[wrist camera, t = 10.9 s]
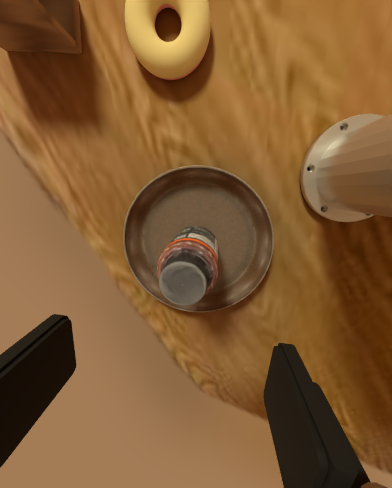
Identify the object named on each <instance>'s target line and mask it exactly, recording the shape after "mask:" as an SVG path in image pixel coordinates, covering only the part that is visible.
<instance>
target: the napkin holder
mask: <svg viewBox="0 0 392 488" xmlns="http://www.w3.org/2000/svg"><path fill="white" fill-rule="evenodd" d="M0 47H1V48H3V49H4V50H6V51H20V52H47V53H73V54H82V43H81V27H80V12H79V1H78V0H0Z"/></svg>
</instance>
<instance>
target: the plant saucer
mask: <svg viewBox="0 0 392 488" xmlns="http://www.w3.org/2000/svg"><path fill="white" fill-rule="evenodd" d="M195 225H197V226H202V227H205V228H207V229H209V230H210V231H211V232H212V233H213V234H214V235H215V237H216V239H217V243H218V247H219V251H220V252H219V273H218V278H217V281H216V283H215V285H214V287H213V288H212V289H211V290H210V291H209V292H208V293H207V294H205V295H204V296H203V297H202V299H201V300H199V301H198V302H197V303H195V304H192V305H188V306H181V305H177V304H174V303H172V302H170V301H169V300H168V299H166V298H165V297H164V295H163V294H162V292H161V290H160V287H159V277H158V273H157V264H158V260H159V257H160V255H161V253H162V252H163V250H164V249H165V248H166V247H167V246H168V244H169V243H170V242H171V241H172V240H173V239H174V238H175V236H176V235H177V234H178V233H179V232H180V231H181V230H183V229H184V228H186V227H189V226H195ZM123 245H124V252H125V256H126V259H127V262H128V265H129V267H130V269H131V271H132V273H133V275H134V277H135V278H136V279H137V281H138V282H139V283H140V285H141V286H142V287H143V288H144V289H145V290H146V291H147V292H148V293H149V294H151V295H152V296H153V297H154V298H156V299H157V300H159V301H160V302H162V303H164V304H166V305H168V306H171V307H173V308H176V309H179V310H183V311H189V312H212V311H217V310H221V309H224V308H227V307H229V306H232V305H234V304H236V303H238V302H239V301H241V300H243V299H244V298H245V297H247V296H248V295H249V294H250V293H251V292H252V291H253V290H254V289H255V288H256V287H257V286H258V285H259V283H260V282H261V281H262V279H263V278H264V276H265V274H266V272H267V270H268V268H269V265H270V262H271V259H272V254H273V248H274V233H273V227H272V222H271V218H270V215H269V213H268V211H267V208H266V206H265V205H264V203H263V201H262V200H261V198H260V197H259V196H258V194H257V193H256V192H255V191H254V190H253V189H252V188H251V187H250V186H249V185H248V184H247V183H246V182H244V181H243V180H242V179H240V178H239V177H237V176H235V175H233V174H232V173H229V172H227V171H225V170H222V169H219V168H215V167H210V166H200V165H193V166H184V167H179V168H175V169H172V170H169V171H167V172H165V173H163V174H161V175H159V176H157V177H156V178H154V179H153V180H151V181H150V182H149V183H148V184H147V185H146V186H145V187H143V188H142V190H141V191H140V192H139V193H138V194H137V196H136V197H135V199H134V200H133V202H132V204H131V206H130V208H129V210H128V213H127V215H126V219H125V223H124V229H123Z"/></svg>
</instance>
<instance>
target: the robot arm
mask: <svg viewBox="0 0 392 488" xmlns="http://www.w3.org/2000/svg"><path fill="white" fill-rule="evenodd" d="M340 127H341V129H340ZM307 167H309V171H307ZM300 184H301V191H302V193H303V196H304V199H305V200H306V202H307V204H308V205H309V207H310V208H311V209H312V210H313V211H314V212H316V213H317V214H319V215H320V216H322V217H324V218H327V219H329V220H333V221H337V222H356V221H360V220H364V219H367V218H370V217H372V216H374V215H379V216H386V217H392V114H390V115H388V116H383V115H377V114H360V115H356V116H352V117H349V118H347V119H344V120H342V121H340V122H338V123H336V124H334V125H333V126H331V127H330V128H328V129H327V130H326V131H324V132H323V133H322V134H321V135H320V136H319V137H318V138H317V139H316V140H315V141H314V142H313V144H312V146H311V147H310V149H309V150H308V152H307V154H306V156H305V158H304V161H303V164H302V168H301V175H300ZM321 207H322V209H321ZM75 368H76V358H75V350H74V341H73V333H72V324H71V321H70V320H69V318H68V317H67V316H64V315H56V314H54V315H52V316H50V317H49V318H47V319H46V320H45V321H44V322H42V323H41V324H40V325H38V326H37V327H36V328H35V329H33V330H32V331H31V332H29V333H28V334H27V335H26V336H24V337H23V338H22V339H20V340H19V341H18V342H16V343H15V344H14V345H13V346H11V347H10V348H9V349H7V350H6V351H5V352H3V353H2V354H1V355H0V467H1V466H2V465H3V464H4V463H5V461H6V460H7V459H8V457H9V456H10V455H11V454H12V452H13V451H14V450H15V448H16V447H17V446H18V444H19V443H20V442H21V441H22V439H23V438H24V437H25V435H26V434H27V433H28V431H29V430H30V429H31V428H32V426H33V425H34V424H35V422H36V421H37V420H38V418H39V417H40V416H41V414H42V413H43V412H44V411H45V409H46V408H47V407H48V406H49V404H50V403H51V402H52V400H53V399H54V398H55V396H56V395H57V394H58V393H59V391H60V390H61V389H62V387H63V386H64V385H65V383H66V382H67V381H68V380H69V378H70V377H71V376H72V374H73V372H74V371H75ZM264 403H265V407H266V411H267V416H268V420H269V424H270V429H271V433H272V437H273V442H274V445H275V450H276V455H277V459H278V463H279V467H280V472H281V476H282V481H283V485H284V488H387V487H385V486H383V485H380V484H378V483H372V482H370V480H369V478H368V476H367V474H366V472H365V471H364V469H363V467H362V465H361V463H360V461H359V459H358V457H357V455H356V454H355V452H354V450H353V448H352V446H351V444H350V442H349V440H348V438H347V437H346V435H345V433H344V431H343V429H342V427H341V425H340V423H339V422H338V420H337V418H336V416H335V414H334V412H333V410H332V408H331V406H330V405H329V403H328V401H327V399H326V397H325V395H324V393H323V391H322V390H321V388H320V386H319V385H318V384H317V383H314V382H313V381H312V379H311V377H310V375H309V373H308V371H307V369H306V367H305V366H304V364H303V362H302V360H301V358H300V356H299V354H298V352H297V350H296V348H295V346H294V345H292V344H284V343H279V344H278V346H274V348H273V353H272V357H271V362H270V366H269V371H268V375H267V380H266V384H265V389H264Z"/></svg>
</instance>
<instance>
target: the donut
mask: <svg viewBox="0 0 392 488" xmlns="http://www.w3.org/2000/svg"><path fill="white" fill-rule="evenodd" d="M164 8H172V9H174V10H175V11H176V12H177V13H178V14H179V16H180V18H181V22H182V28H181V32H180V35H179V36H178V38H177V39H175V40H174V41H172V42H165V41H162V40H161V39H160V38H159V37H158V35H157V33H156V30H155V19H156V17H157V15H158V13H159V12H160V11H161V10H162V9H164ZM125 25H126V31H127V36H128V39H129V42H130V45H131V48H132V50H133V52H134V54H135V56H136V57H137V59H138V60H139V62H140V63H141V64H142V65H143V66H144V68H146V69H147V70H148V71H149V72H150V73H152V74H153V75H155V76H157V77H159V78H162V79H166V80H176V79H180V78H183V77H185V76H187V75H188V74H190V73H191V72H192V71H193V70H194V69H195V68H196V67H197V66H198V65H199V63H200V62H201V60H202V59H203V57H204V55H205V52H206V50H207V47H208V43H209V39H210V31H211V16H210V8H209V3H208V0H126V4H125Z"/></svg>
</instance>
